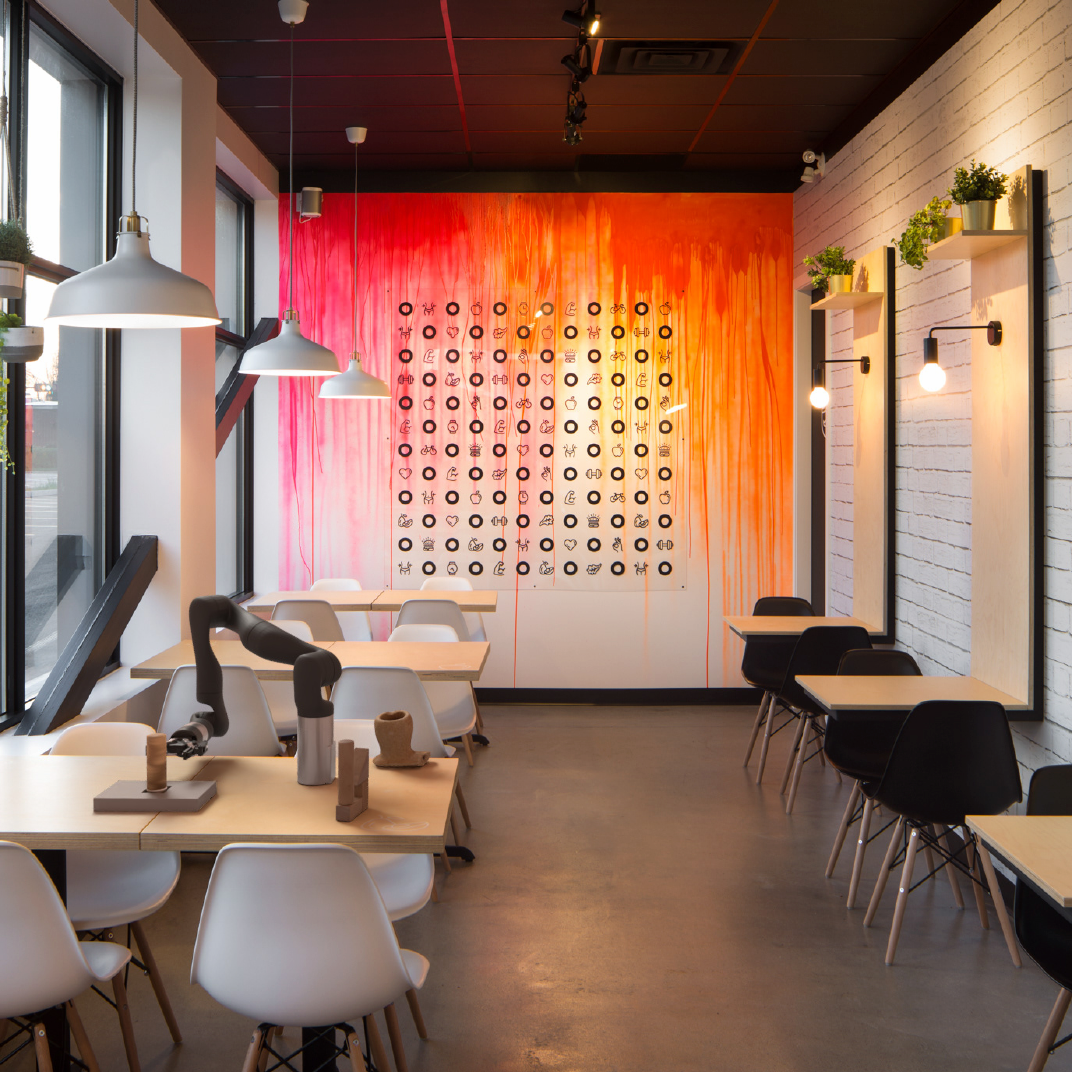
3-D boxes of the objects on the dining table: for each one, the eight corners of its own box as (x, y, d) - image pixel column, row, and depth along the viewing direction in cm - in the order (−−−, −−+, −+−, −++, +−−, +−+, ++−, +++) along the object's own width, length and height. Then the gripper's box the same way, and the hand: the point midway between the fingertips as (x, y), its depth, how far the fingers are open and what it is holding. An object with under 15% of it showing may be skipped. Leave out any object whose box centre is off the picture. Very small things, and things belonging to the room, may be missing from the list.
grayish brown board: (216, 793, 238) (216, 781, 238) (197, 811, 224) (197, 798, 224) (118, 792, 238) (118, 780, 238) (93, 811, 224) (93, 798, 224)
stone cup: (367, 771, 258) (367, 715, 258) (377, 759, 270) (377, 706, 270) (423, 773, 257) (424, 717, 257) (431, 760, 269) (431, 707, 269)
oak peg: (170, 798, 233) (169, 733, 233) (163, 804, 229) (162, 737, 228) (150, 798, 233) (150, 733, 233) (143, 804, 229) (142, 737, 228)
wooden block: (369, 807, 229) (369, 732, 228) (350, 822, 218) (350, 743, 217) (354, 806, 229) (354, 731, 229) (335, 821, 219) (335, 742, 218)
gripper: (161, 724, 253) (137, 740, 237) (216, 725, 253) (196, 741, 237) (162, 753, 253) (137, 771, 237) (216, 753, 254) (196, 771, 238)
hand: (167, 756), depth 237 cm, fingers open, 8 cm apart
